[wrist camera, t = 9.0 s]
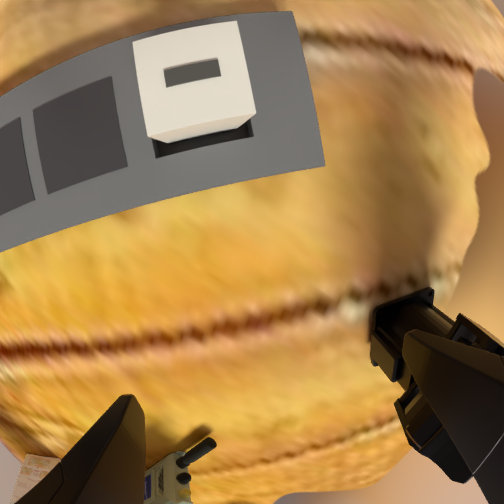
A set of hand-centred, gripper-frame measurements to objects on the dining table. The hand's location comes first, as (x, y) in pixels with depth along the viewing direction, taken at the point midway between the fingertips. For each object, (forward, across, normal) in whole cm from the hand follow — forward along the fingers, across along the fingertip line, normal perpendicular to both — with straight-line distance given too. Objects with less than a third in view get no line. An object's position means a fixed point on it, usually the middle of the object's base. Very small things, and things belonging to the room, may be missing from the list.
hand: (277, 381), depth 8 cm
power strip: (+11, +11, -10) cm, 19 cm away
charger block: (+11, +1, -10) cm, 15 cm away
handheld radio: (+12, +15, +25) cm, 32 cm away
